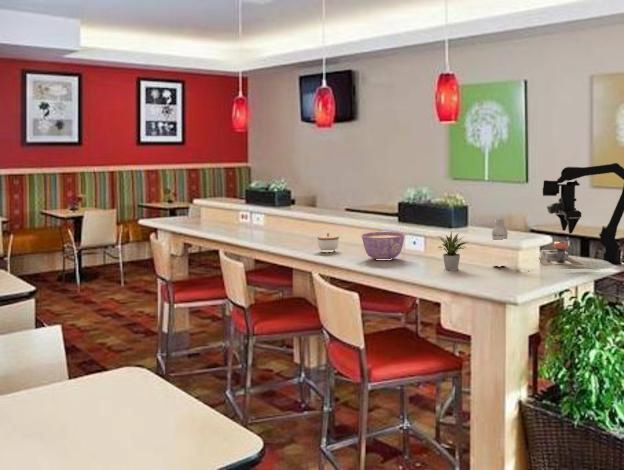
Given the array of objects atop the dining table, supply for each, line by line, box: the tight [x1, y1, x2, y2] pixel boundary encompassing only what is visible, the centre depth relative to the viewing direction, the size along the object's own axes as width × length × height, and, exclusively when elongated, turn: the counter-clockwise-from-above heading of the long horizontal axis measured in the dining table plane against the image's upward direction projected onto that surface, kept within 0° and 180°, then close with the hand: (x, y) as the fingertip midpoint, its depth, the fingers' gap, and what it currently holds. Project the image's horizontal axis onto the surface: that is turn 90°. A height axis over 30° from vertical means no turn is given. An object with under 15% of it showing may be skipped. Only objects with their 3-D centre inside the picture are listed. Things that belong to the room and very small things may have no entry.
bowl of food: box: [361, 231, 406, 260], centre depth 322 cm, size 20×20×12 cm
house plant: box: [437, 230, 469, 271], centre depth 292 cm, size 14×14×16 cm
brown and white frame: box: [539, 249, 584, 270], centre depth 297 cm, size 16×18×5 cm
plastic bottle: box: [491, 219, 508, 241], centre depth 294 cm, size 6×7×20 cm
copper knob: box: [553, 240, 569, 263], centre depth 291 cm, size 6×6×9 cm
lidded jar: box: [316, 232, 340, 251], centre depth 348 cm, size 11×11×9 cm
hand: (567, 232), depth 302 cm, fingers open, 9 cm apart
